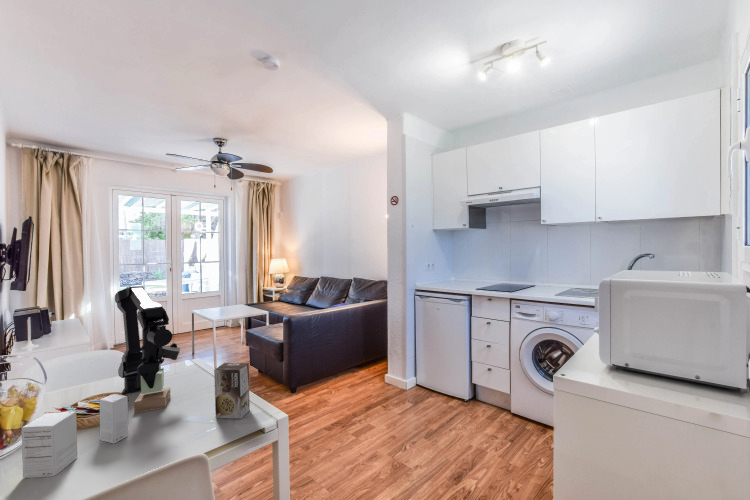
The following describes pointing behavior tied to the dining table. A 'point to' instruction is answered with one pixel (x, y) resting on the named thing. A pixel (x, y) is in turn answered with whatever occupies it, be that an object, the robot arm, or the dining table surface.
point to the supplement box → (49, 444)
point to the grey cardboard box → (232, 390)
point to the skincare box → (113, 418)
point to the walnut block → (152, 400)
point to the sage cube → (157, 384)
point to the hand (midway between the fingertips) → (152, 384)
